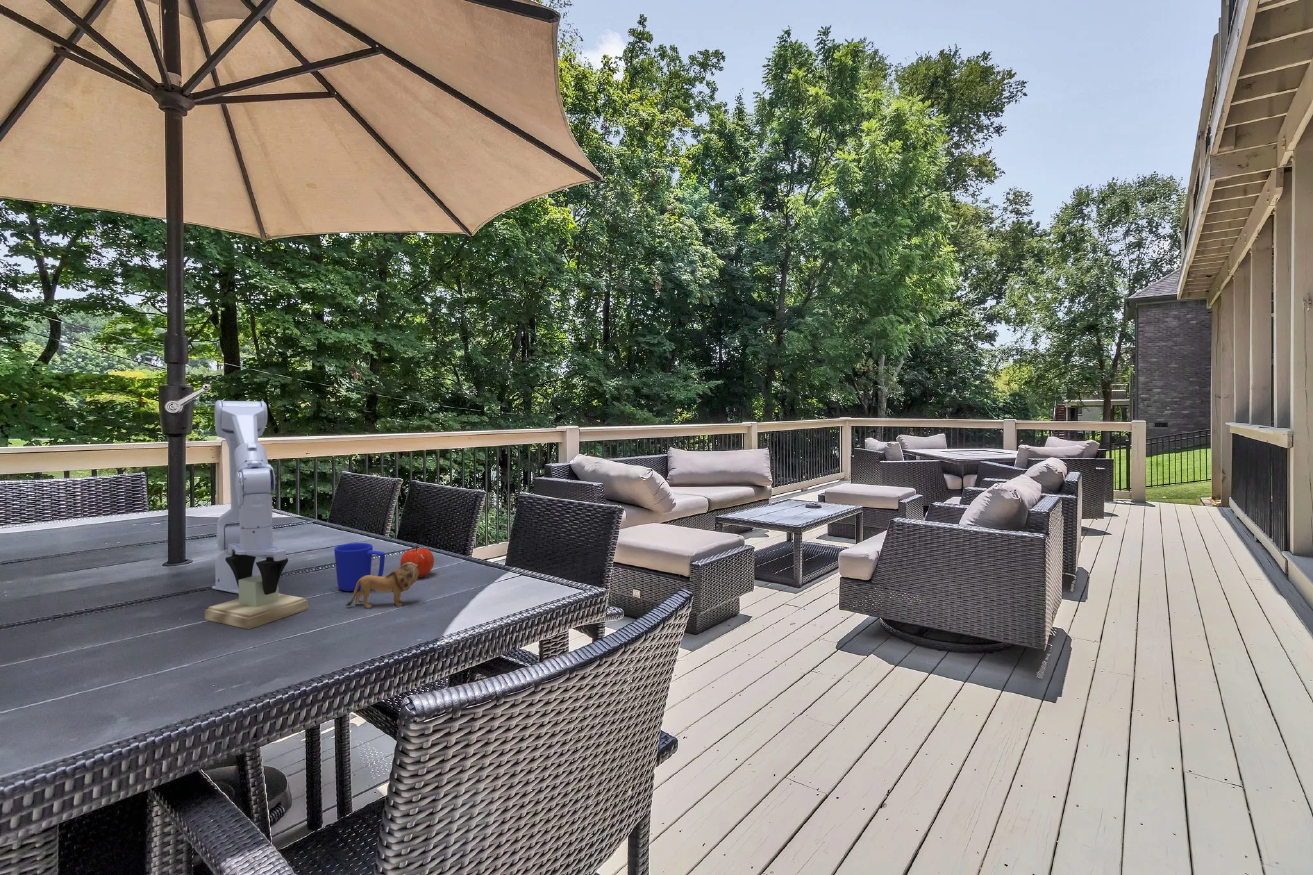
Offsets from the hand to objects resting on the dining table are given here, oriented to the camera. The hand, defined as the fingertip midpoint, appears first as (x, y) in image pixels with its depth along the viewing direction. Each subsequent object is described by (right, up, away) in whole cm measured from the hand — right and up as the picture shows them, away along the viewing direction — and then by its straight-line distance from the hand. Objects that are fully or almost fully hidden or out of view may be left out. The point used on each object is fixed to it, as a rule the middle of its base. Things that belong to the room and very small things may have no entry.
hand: (257, 590), depth 131 cm
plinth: (0, -5, 0) cm, 5 cm away
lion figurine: (+23, -5, +8) cm, 25 cm away
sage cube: (0, -2, +1) cm, 2 cm away
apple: (+22, -4, +30) cm, 37 cm away
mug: (+13, -4, +19) cm, 23 cm away
